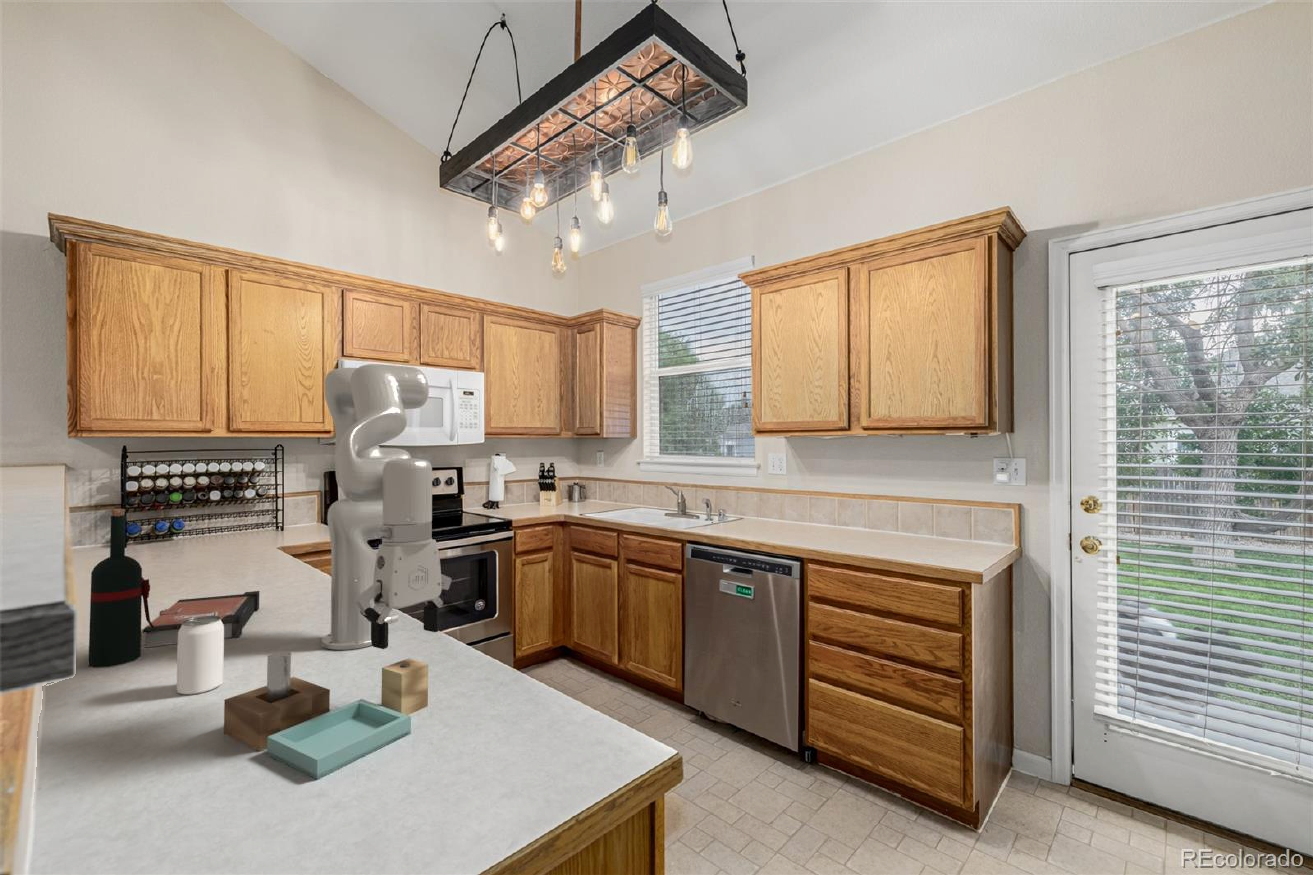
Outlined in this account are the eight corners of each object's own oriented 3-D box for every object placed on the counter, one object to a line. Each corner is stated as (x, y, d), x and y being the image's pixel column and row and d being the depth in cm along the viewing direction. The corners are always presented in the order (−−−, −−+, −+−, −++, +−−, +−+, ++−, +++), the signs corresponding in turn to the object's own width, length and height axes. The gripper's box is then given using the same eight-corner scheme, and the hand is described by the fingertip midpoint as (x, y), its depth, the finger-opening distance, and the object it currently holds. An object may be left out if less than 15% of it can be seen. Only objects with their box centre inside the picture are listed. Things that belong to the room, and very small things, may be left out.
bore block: (293, 707, 95) (293, 676, 95) (329, 721, 90) (329, 689, 90) (223, 733, 87) (224, 699, 87) (259, 751, 82) (260, 715, 82)
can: (197, 697, 99) (198, 626, 99) (166, 694, 100) (168, 624, 100) (232, 682, 105) (233, 616, 105) (202, 679, 106) (204, 613, 107)
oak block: (407, 699, 99) (408, 657, 99) (427, 706, 96) (428, 663, 96) (381, 711, 94) (381, 667, 94) (401, 718, 92) (401, 673, 92)
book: (175, 618, 145) (175, 598, 145) (259, 609, 153) (259, 590, 153) (138, 651, 122) (138, 627, 122) (239, 639, 129) (239, 617, 130)
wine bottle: (162, 654, 119) (165, 508, 119) (95, 670, 110) (99, 512, 111) (146, 647, 123) (149, 505, 123) (81, 662, 114) (84, 510, 115)
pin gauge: (282, 714, 90) (284, 650, 91) (293, 719, 89) (294, 653, 89) (262, 722, 88) (263, 656, 88) (272, 727, 86) (274, 659, 87)
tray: (361, 714, 93) (361, 699, 93) (410, 733, 87) (410, 716, 87) (267, 754, 81) (267, 736, 81) (317, 779, 75) (317, 760, 75)
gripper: (373, 542, 86) (372, 658, 86) (464, 529, 101) (464, 628, 101) (343, 539, 90) (342, 650, 89) (435, 527, 105) (434, 622, 104)
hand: (406, 638), depth 95 cm, fingers open, 9 cm apart
